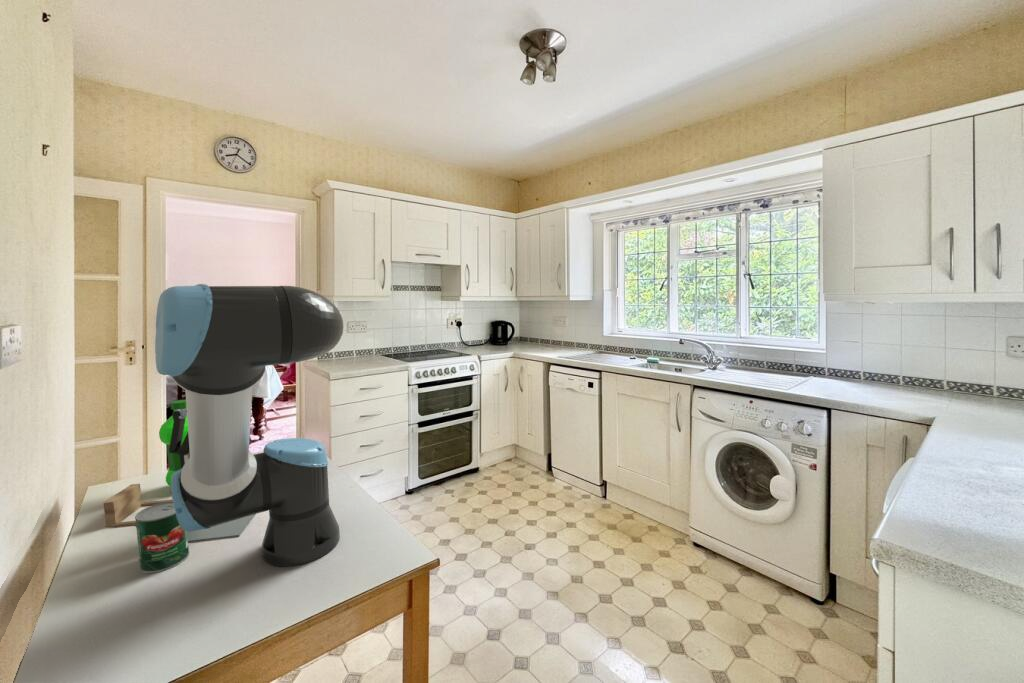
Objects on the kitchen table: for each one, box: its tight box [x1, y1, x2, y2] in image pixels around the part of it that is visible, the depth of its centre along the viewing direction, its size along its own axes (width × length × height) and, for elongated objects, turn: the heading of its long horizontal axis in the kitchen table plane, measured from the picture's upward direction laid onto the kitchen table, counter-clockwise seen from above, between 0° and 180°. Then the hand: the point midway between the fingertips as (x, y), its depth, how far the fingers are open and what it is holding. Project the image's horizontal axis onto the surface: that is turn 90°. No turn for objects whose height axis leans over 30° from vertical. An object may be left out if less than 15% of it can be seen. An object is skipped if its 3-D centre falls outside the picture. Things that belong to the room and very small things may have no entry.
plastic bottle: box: [158, 399, 190, 487], centre depth 121 cm, size 10×10×25 cm
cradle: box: [103, 483, 173, 528], centre depth 108 cm, size 11×18×6 cm, turn 103°
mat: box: [187, 514, 256, 543], centre depth 102 cm, size 14×14×1 cm
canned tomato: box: [134, 501, 190, 574], centre depth 87 cm, size 8×8×11 cm
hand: (214, 478), depth 101 cm, fingers closed on canister, 9 cm apart
